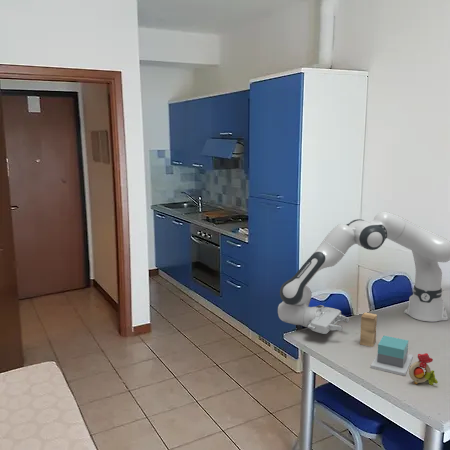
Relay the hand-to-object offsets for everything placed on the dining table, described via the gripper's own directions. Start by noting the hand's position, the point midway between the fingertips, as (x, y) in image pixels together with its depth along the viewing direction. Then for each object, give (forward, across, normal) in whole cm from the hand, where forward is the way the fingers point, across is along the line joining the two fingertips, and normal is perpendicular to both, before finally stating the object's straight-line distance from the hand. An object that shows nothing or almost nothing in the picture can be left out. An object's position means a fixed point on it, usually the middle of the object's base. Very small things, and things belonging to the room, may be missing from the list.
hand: (345, 324), depth 194 cm
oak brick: (+10, 0, +6) cm, 11 cm away
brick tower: (+22, -12, +6) cm, 26 cm away
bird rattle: (+34, -22, +6) cm, 41 cm away
